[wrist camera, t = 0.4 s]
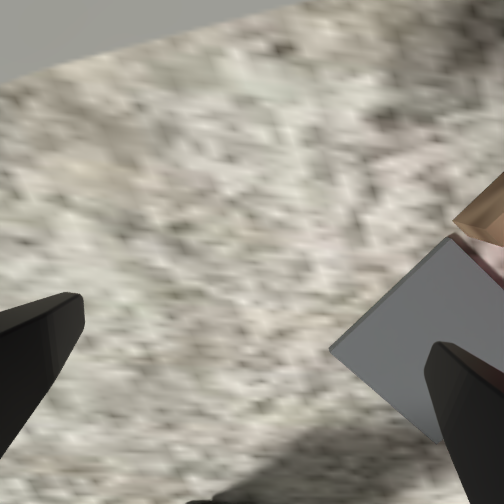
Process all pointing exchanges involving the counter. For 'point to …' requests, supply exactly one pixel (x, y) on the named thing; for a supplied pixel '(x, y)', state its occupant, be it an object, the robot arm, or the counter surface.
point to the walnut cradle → (485, 215)
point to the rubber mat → (425, 330)
